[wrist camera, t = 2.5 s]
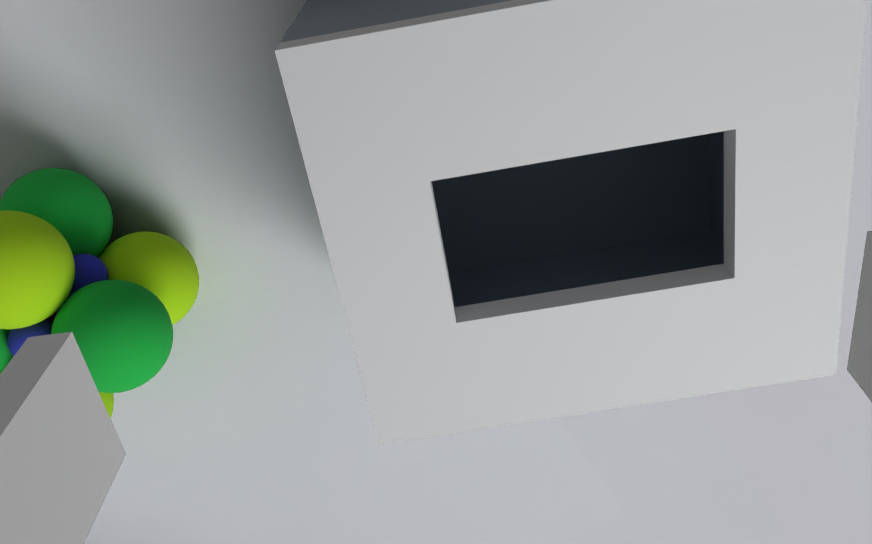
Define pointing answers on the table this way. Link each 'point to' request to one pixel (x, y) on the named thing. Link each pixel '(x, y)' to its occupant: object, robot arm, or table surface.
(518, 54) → the box
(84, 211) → the molecule model
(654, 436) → the table surface
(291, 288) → the table surface
